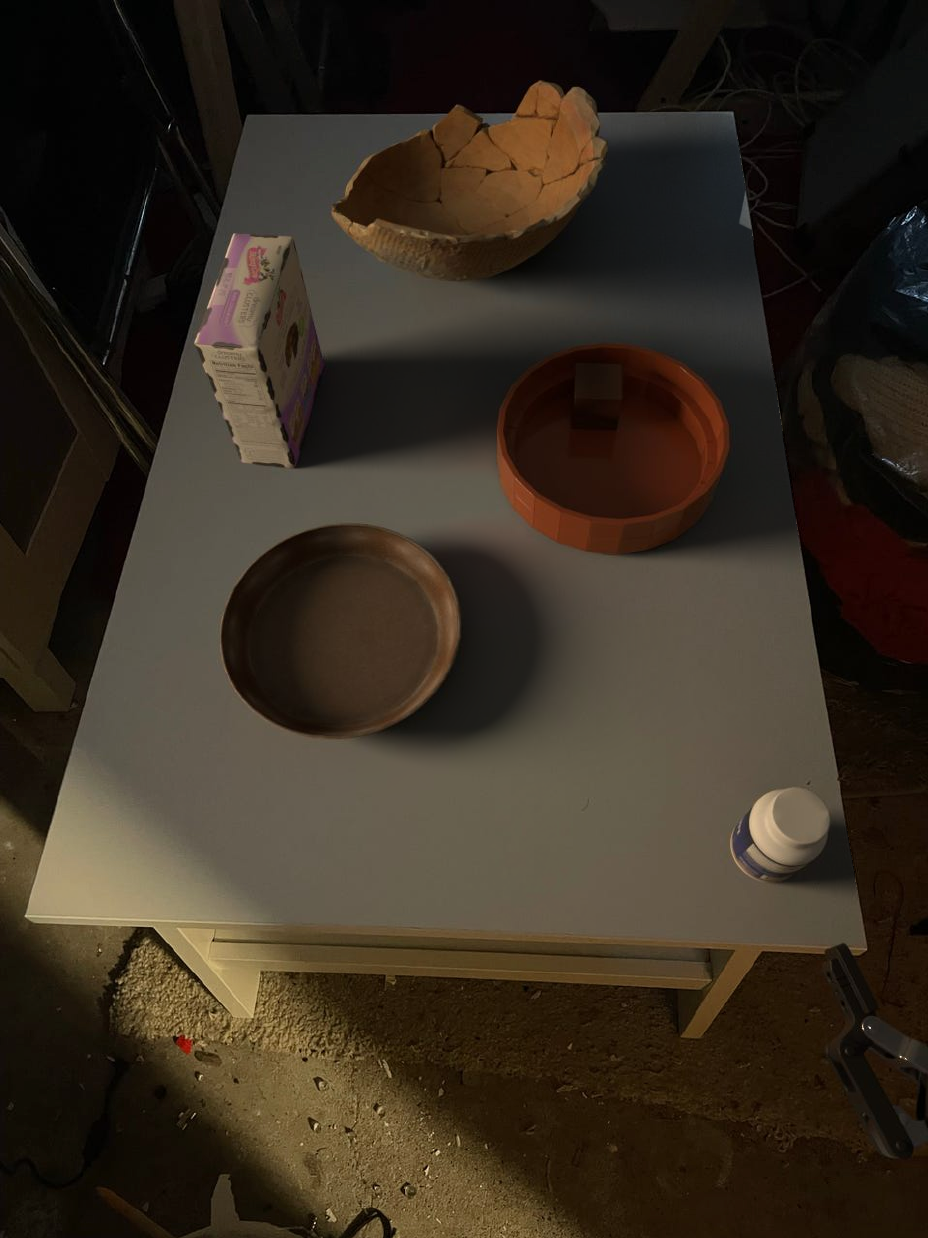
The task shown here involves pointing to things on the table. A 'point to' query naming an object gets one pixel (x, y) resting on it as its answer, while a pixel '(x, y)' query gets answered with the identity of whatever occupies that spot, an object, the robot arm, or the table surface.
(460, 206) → the ceramic bowl
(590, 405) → the block
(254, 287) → the candy box
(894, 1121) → the robot arm
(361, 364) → the table surface
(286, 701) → the plant saucer
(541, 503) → the bowl
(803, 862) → the pill bottle
